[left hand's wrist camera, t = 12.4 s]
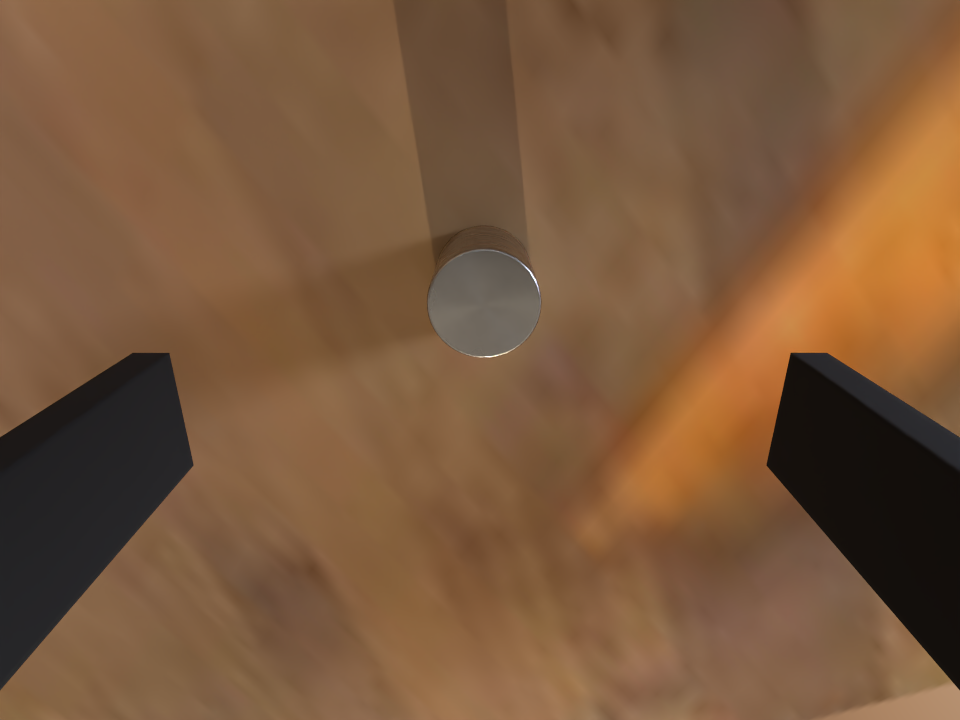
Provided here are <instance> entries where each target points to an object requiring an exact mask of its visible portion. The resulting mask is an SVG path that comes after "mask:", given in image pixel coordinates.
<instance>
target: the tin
mask: <svg viewBox="0 0 960 720" xmlns="http://www.w3.org/2000/svg"><path fill="white" fill-rule="evenodd" d="M427 310H428V315H429V319H430V322H431V324H432V326H433V328H434V330H435V331H436V333H437V334H438V336H439V337H440V338H441V339H442V340H443V341H444V342H445V343H446V344H447V345H448V346H450V347H451V348H453V349H454V350H456V351H458V352H460V353H463V354H465V355H469V356H473V357H480V358H488V357H496V356H500V355H503V354H506V353H508V352H510V351H512V350H514V349H516V348H517V347H518V346H520V345H521V344H522V343H523V342H524V341H526V340H527V338H528V337H529V336H530V335H531V333H532V332H533V330H534V329H535V327H536V324H537V322H538V319H539V316H540V311H541V293H540V289H539V286H538V283H537V280H536V277H535V274H534V271H533V268H532V265H531V262H530V259H529V257H528V254H527V252H526V250H525V248H524V247H523V245H522V244H521V243H520V242H519V241H518V239H517V238H515V237H514V236H513V235H512V234H510V233H508V232H507V231H505V230H502V229H500V228H497V227H493V226H476V227H471V228H468V229H465V230H463V231H461V232H459V233H458V234H456V235H455V236H454V237H452V238H451V239H450V240H449V241H448V242H447V244H446V245H445V246H444V248H443V250H442V251H441V253H440V256H439V259H438V262H437V265H436V268H435V271H434V274H433V277H432V280H431V284H430V287H429V291H428V296H427Z"/></svg>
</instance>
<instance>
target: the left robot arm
mask: <svg viewBox="0 0 960 720" xmlns="http://www.w3.org/2000/svg"><path fill="white" fill-rule="evenodd" d="M192 467H193V460H192V456H191V451H190V447H189V442H188V437H187V433H186V428H185V424H184V419H183V414H182V410H181V405H180V401H179V396H178V391H177V387H176V382H175V378H174V373H173V368H172V364H171V359H170V355H169V353H132V354H131V355H129V356H127V357H126V358H124V359H123V360H121V361H120V362H118V363H116V364H115V365H113V366H112V367H110V368H109V369H107V370H105V371H104V372H102V373H101V374H99V375H98V376H96V377H94V378H93V379H91V380H90V381H88V382H87V383H85V384H83V385H82V386H80V387H79V388H77V389H76V390H74V391H72V392H71V393H69V394H68V395H66V396H65V397H63V398H61V399H60V400H58V401H57V402H55V403H54V404H52V405H50V406H49V407H47V408H46V409H44V410H43V411H41V412H39V413H38V414H36V415H35V416H33V417H32V418H30V419H28V420H27V421H25V422H24V423H22V424H21V425H19V426H17V427H16V428H14V429H13V430H11V431H10V432H8V433H6V434H5V435H3V436H2V437H0V690H1V689H2V687H3V686H4V685H5V684H6V683H7V682H8V681H9V679H10V678H11V677H12V676H13V675H14V674H15V672H16V671H17V670H18V669H19V668H20V667H21V665H22V664H23V663H24V662H25V661H26V660H27V658H28V657H29V656H30V655H31V654H32V653H33V651H34V650H35V649H36V648H37V647H38V646H39V644H40V643H41V642H42V641H43V640H44V639H45V637H46V636H47V635H48V634H49V633H50V632H51V631H52V629H53V628H54V627H55V626H56V625H57V624H58V622H59V621H60V620H61V619H62V618H63V617H64V615H65V614H66V613H67V612H68V611H69V610H70V608H71V607H72V606H73V605H74V604H75V603H76V601H77V600H78V599H79V598H80V597H81V596H82V594H83V593H84V592H85V591H86V590H87V589H88V587H89V586H90V585H91V584H92V583H93V582H94V580H95V579H96V578H97V577H98V576H99V575H100V574H101V572H102V571H103V570H104V569H105V568H106V567H107V565H108V564H109V563H110V562H111V561H112V560H113V558H114V557H115V556H116V555H117V554H118V553H119V551H120V550H121V549H122V548H123V547H124V546H125V544H126V543H127V542H128V541H129V540H130V539H131V537H132V536H133V535H134V534H135V533H136V532H137V530H138V529H139V528H140V527H141V526H142V525H143V523H144V522H145V521H146V520H147V519H148V518H149V517H150V515H151V514H152V513H153V512H154V511H155V510H156V508H157V507H158V506H159V505H160V504H161V503H162V501H163V500H164V499H165V498H166V497H167V496H168V494H169V493H170V492H171V491H172V490H173V489H174V487H175V486H176V485H177V484H178V483H179V482H180V480H181V479H182V478H183V477H184V476H185V475H186V473H187V472H188V471H189V470H190V469H191V468H192ZM767 467H768V468H769V469H770V470H771V471H772V472H773V473H774V475H775V476H776V477H777V478H778V479H779V480H780V482H781V483H782V484H783V485H784V486H785V487H786V489H787V490H788V491H789V492H790V493H791V494H792V496H793V497H794V498H795V499H796V500H797V501H798V503H799V504H800V505H801V506H802V507H803V508H804V510H805V511H806V512H807V513H808V514H809V515H810V517H811V518H812V519H813V520H814V521H815V522H816V524H817V525H818V526H819V527H820V528H821V529H822V530H823V532H824V533H825V534H826V535H827V536H828V537H829V539H830V540H831V541H832V542H833V543H834V544H835V546H836V547H837V548H838V549H839V550H840V551H841V553H842V554H843V555H844V556H845V557H846V558H847V560H848V561H849V562H850V563H851V564H852V565H853V567H854V568H855V569H856V570H857V571H858V572H859V574H860V575H861V576H862V577H863V578H864V579H865V580H866V582H867V583H868V584H869V585H870V586H871V587H872V589H873V590H874V591H875V592H876V593H877V594H878V596H879V597H880V598H881V599H882V600H883V601H884V603H885V604H886V605H887V606H888V607H889V608H890V610H891V611H892V612H893V613H894V614H895V615H896V617H897V618H898V619H899V620H900V621H901V622H902V624H903V625H904V626H905V627H906V628H907V629H908V631H909V632H910V633H911V634H912V635H913V636H914V637H915V639H916V640H917V641H918V642H919V643H920V644H921V646H922V647H923V648H924V649H925V650H926V651H927V653H928V654H929V655H930V656H931V657H932V658H933V660H934V661H935V662H936V663H937V664H938V665H939V667H940V668H941V669H942V670H943V671H944V672H945V674H946V675H947V676H948V677H949V678H950V679H951V681H952V682H953V683H954V684H955V685H956V686H957V687H958V689H959V690H960V437H958V436H957V435H955V434H954V433H952V432H950V431H949V430H947V429H946V428H944V427H943V426H941V425H939V424H938V423H936V422H935V421H933V420H932V419H930V418H928V417H927V416H925V415H924V414H922V413H921V412H919V411H917V410H916V409H914V408H913V407H911V406H910V405H908V404H906V403H905V402H903V401H902V400H900V399H899V398H897V397H895V396H894V395H892V394H891V393H889V392H888V391H886V390H884V389H883V388H881V387H880V386H878V385H877V384H875V383H873V382H872V381H870V380H869V379H867V378H866V377H864V376H862V375H861V374H859V373H858V372H856V371H855V370H853V369H851V368H850V367H848V366H847V365H845V364H844V363H842V362H840V361H839V360H837V359H836V358H834V357H833V356H831V355H829V354H828V353H791V355H790V359H789V364H788V368H787V373H786V378H785V382H784V387H783V391H782V396H781V401H780V405H779V410H778V414H777V419H776V424H775V428H774V433H773V437H772V442H771V447H770V451H769V456H768V460H767Z"/></svg>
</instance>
